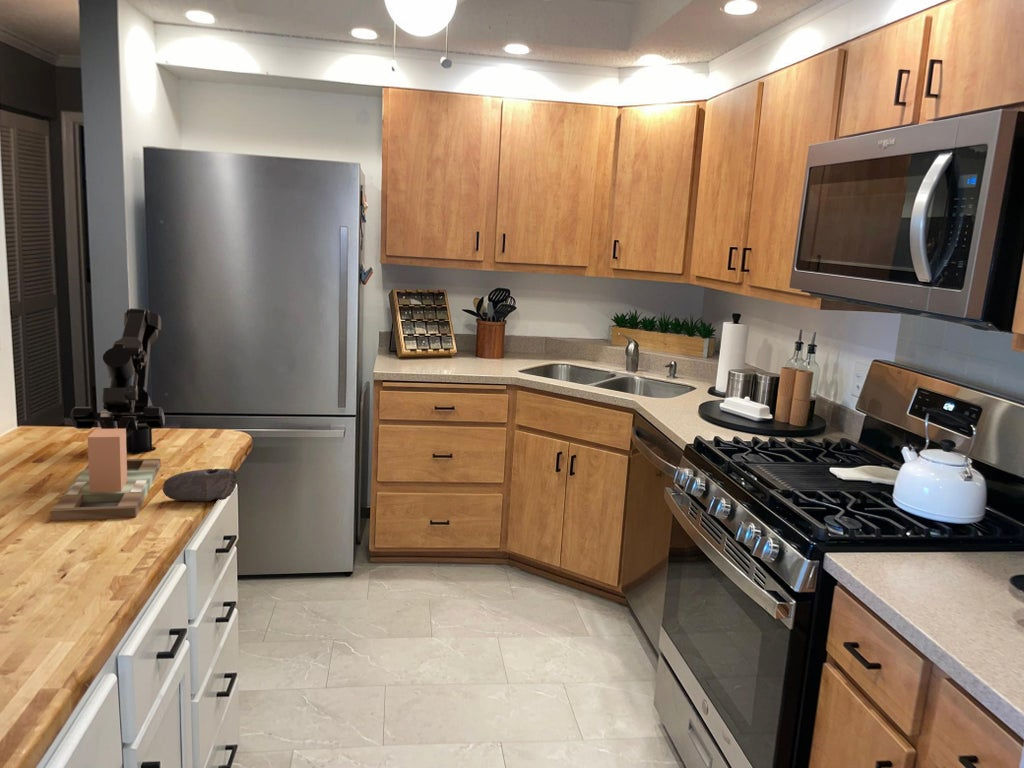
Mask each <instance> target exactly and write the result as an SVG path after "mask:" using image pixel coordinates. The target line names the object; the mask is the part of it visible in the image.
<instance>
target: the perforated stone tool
mask: <svg viewBox="0 0 1024 768" xmlns="http://www.w3.org/2000/svg"><path fill="white" fill-rule="evenodd" d="M237 473H238V472H237V471H236V470H235V469H233V468H204V469H197V470H196V469H195V470H190V471H186V472H180V473H176V474H175V475H173V476H170V477H169V478H167V479H166V480H164V483H163V484H162V488H161V489H162V492H163V494H164V495H165V496H166V497H167V498H169V499H170V500H174V501H179V502H181V501H182V502H184V501H190V500H191V501H190V502H211V501H214V500H217V499H218V500H219V501H221V500H226V499H228V497H230V496H231V495H232V494H233V493H234V491H235V489H236V487H237V482H238V477H237V475H238V474H237Z"/></svg>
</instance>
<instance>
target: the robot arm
mask: <svg viewBox="0 0 1024 768" xmlns="http://www.w3.org/2000/svg"><path fill="white" fill-rule="evenodd" d="M123 315H124V316H123V318H124V319H123V327H124V328H123V332H122V335H121V337H120V339H118V340H116V341H114V343H113V344H112V347H111V348H108V350H106V351H105V352H104V353H103V355H102V360H103V364H104V366H105V370H106V372H107V373H106V374H107V376H108V378H109V379H110V380H109V387H103V389H102V404H103V406H102V408H103V410H101V411H100V412H94V409H93V407H92V406H74V407H73V408H72V409H71V410H70V415H69V417H70V420H71V422H72V425H73V426H74V428H75V429H77V430H90V429H92V428H94V427H96V423H97V422H98V423H99V425H100V429H126V452H127V453H128V454H133V455H138V454H142V453H146V452H151V451H155V450H157V447H156V446H153V433H152V432H153V431H152V430H153V429H163V428H165V423H166V421H165V420H166V417H165V413H164V409H163V408H162V407H161V406H154V405H153V403H152V400H151V397H150V396H149V394H148V391H147V390H148V378H149V367H150V357H151V346H152V344H153V343H155V341H156V340H157V339H158V337H159V331H161V330H162V319H161V318H162V317H161V316H160V315H159V313H156V312H152V311H150V310H149V309H146V308H132V307H131V308H129V309H127V310H126V311H125V312H124V314H123ZM116 425H117V426H116Z"/></svg>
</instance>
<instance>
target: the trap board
mask: <svg viewBox="0 0 1024 768" xmlns="http://www.w3.org/2000/svg"><path fill="white" fill-rule="evenodd" d="M161 467H162V465H161V458H127V482H126V484H125V486H124V487H123V489H122V491H113V492H90V487H89V463H88V464H87V466H86V467H85V468H84V469H83V471H82V472H81V473H80V474H79V475H78V477H77V478H76V479H75V480H74V482H73V483H72V484H71V485H70V487H69V488H68V489H67V491H65V493H64V494H63V495H62V496H61V498H60V499H59V500H58V501H57V503H56V504H55V505H54V506H53V508H52V509H51V510H50V521H54V522H55V521H74V520H75V521H76V520H77V521H78V520H99V519H101V520H103V519H105V520H106V519H128V518H136V517H137V516H138V513H139V511H140V509H141V507H142V505H143V503H144V501H145V499H146V497H147V495H148V493H149V491H150V489H151V487H152V485H153V483H154V481H155V479H156V477H157V475H158V474H159V472H160V471H159V470H160V468H161Z"/></svg>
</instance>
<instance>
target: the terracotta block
mask: <svg viewBox="0 0 1024 768" xmlns="http://www.w3.org/2000/svg"><path fill="white" fill-rule="evenodd" d="M127 453H128V452H126V429H118V428H116V429H101V428H94V430H93V431H92V432H91V433H90V434H89V435H88V436H87V455H88V456H87V457H88V461H87V462H88V464H89V487H90V492H113V491H122V489H123V487H124V486H125V484H126V482H127V459H128V457H127V456H128V455H127Z"/></svg>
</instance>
